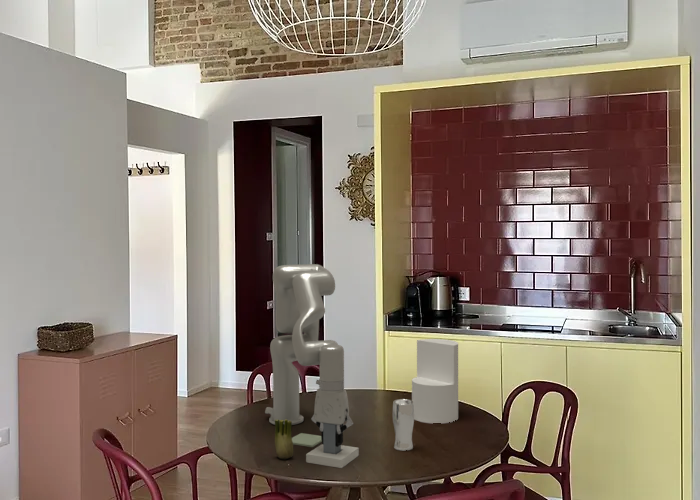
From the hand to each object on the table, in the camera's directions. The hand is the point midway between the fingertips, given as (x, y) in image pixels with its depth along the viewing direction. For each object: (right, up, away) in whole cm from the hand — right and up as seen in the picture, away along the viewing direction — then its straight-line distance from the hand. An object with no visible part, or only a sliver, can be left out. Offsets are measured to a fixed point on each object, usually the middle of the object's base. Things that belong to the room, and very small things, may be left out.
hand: (332, 443), depth 206 cm
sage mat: (-9, -4, +18) cm, 21 cm away
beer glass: (+23, -4, +11) cm, 25 cm away
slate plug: (0, -3, 0) cm, 3 cm away
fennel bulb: (-15, -5, +2) cm, 16 cm away
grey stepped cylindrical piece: (+37, -3, +46) cm, 59 cm away
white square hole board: (0, -5, 0) cm, 5 cm away
